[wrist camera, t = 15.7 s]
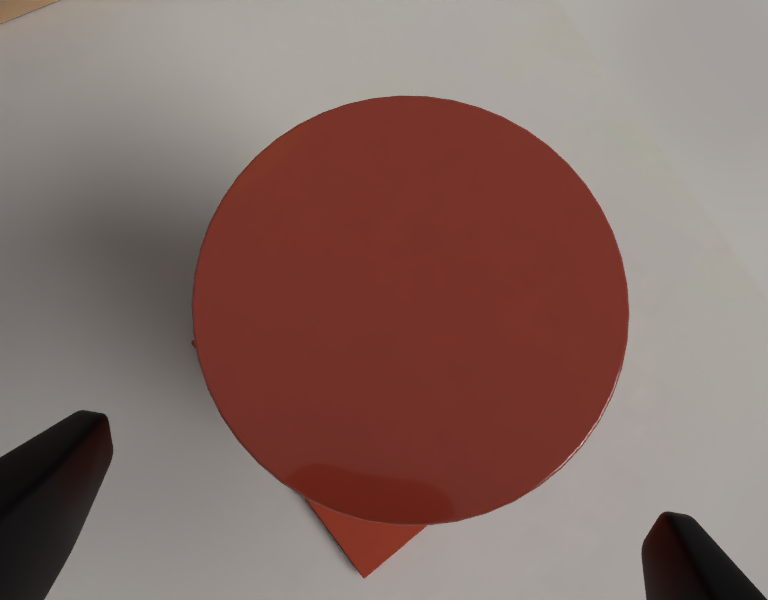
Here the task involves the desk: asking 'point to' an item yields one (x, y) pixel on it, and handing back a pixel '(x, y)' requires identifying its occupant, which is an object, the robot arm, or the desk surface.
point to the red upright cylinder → (410, 310)
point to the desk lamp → (19, 8)
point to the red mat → (364, 536)
